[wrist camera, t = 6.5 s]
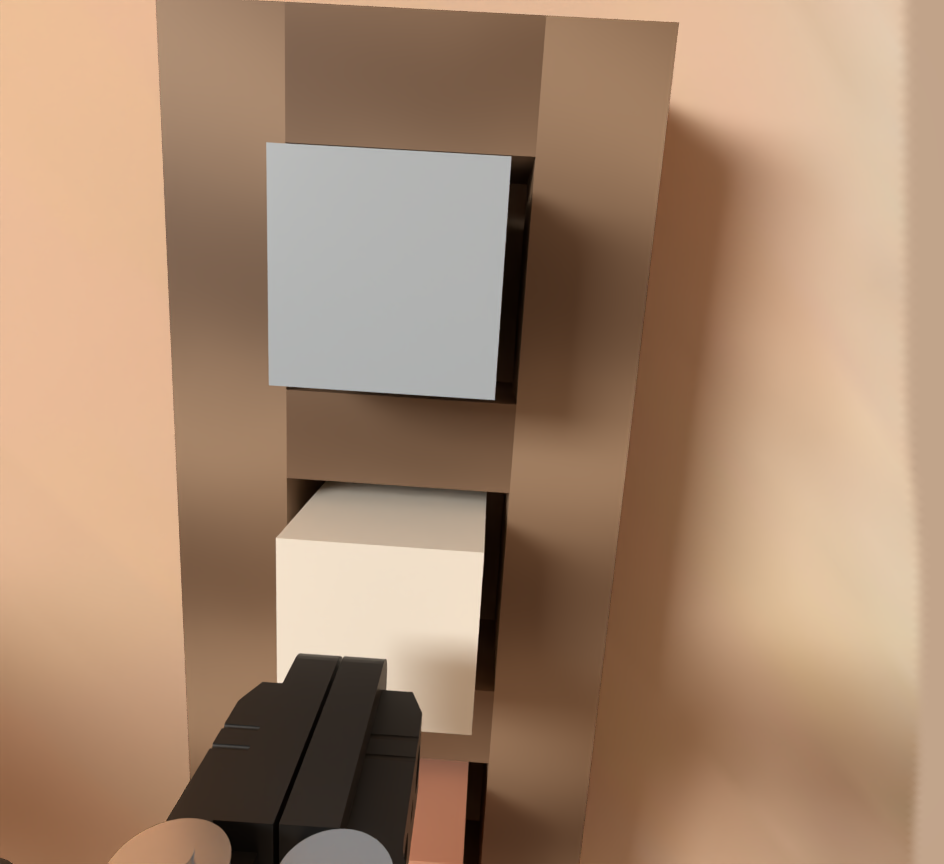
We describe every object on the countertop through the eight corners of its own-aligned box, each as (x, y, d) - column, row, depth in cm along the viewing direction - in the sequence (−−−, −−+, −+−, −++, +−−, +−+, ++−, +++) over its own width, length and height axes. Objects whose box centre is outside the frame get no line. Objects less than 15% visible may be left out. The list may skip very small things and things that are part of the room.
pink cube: (461, 856, 18) (452, 1010, 14) (323, 845, 18) (277, 995, 14) (470, 735, 17) (463, 864, 13) (324, 724, 17) (275, 849, 14)
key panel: (549, 874, 21) (562, 1007, 17) (252, 851, 21) (198, 975, 17) (633, 88, 16) (678, 22, 12) (237, 66, 16) (155, -5, 12)
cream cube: (476, 631, 17) (471, 735, 13) (327, 621, 17) (277, 720, 13) (486, 488, 16) (484, 552, 12) (329, 477, 16) (275, 538, 12)
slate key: (494, 371, 15) (494, 400, 11) (326, 361, 15) (268, 385, 11) (506, 193, 14) (511, 156, 10) (328, 182, 14) (266, 142, 10)
